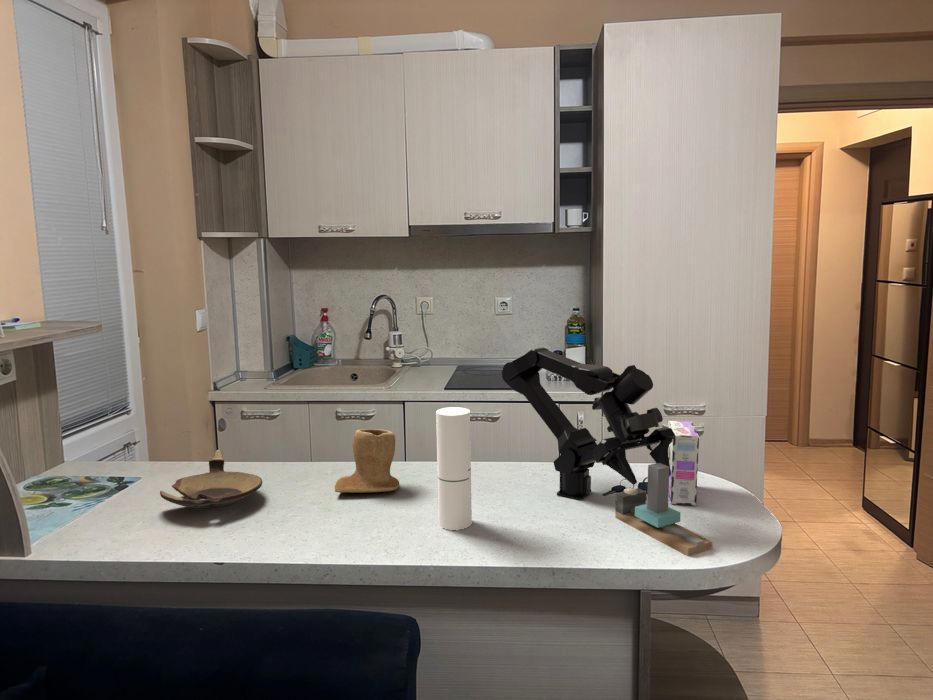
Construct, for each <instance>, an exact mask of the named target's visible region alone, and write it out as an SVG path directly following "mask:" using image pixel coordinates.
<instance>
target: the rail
mask: <svg viewBox="0 0 933 700" xmlns="http://www.w3.org/2000/svg"><path fill="white" fill-rule="evenodd" d="M645 504H647V491H645V490H643V489H641V488H639V487H637V488H632V487H631V488H630V487H627V488H625V489H623V491H620V492H616V493H615V505H614V507H615V512H614V513H615V516H614V517H615V518H616V519H618V520H619V521H621V522H623V523H625V524H627V525H629V526H631V527H632V528H634V529H636V530H638V531H640V532H642V533H644V534H645V535H647V536H650V537H652V538H654V539H655V540H657V541H659V542H661V543H662V544H664V545H666V546H668V547H670V548H672V549H673V550H675V551H677V552H678V553H679V552H680V553H682V554H683V555H686V556H687V557H689V556H693V555H696V554H699V553H703V552H705V550H706V551H710V550H712V549H713V541H712V540H710V539H708V538H706V537H704V536H702V535H700V534H698V533H695V532H694V531H691V530H689V529H687V528H685V527H684V526H681V525H680V524H677V523H674V524H670V525H666V526H663V527H659V528H657V527H656V526H654V525H652V524H650V523H648V522H646V521H644V520H642V519H640V518H638V517H636V516H635V507H636V506H640V505H645ZM702 551H703V552H702ZM698 552H699V553H698ZM695 553H696V554H695ZM692 554H693V555H692Z"/></svg>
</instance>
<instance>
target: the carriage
mask: <svg viewBox="0 0 933 700" xmlns="http://www.w3.org/2000/svg"><path fill="white" fill-rule="evenodd" d="M669 498H670V496H669V466H666V465H664V464H661V463H656V462H655V463H652V464H648V465H647V491H646V504H645V505H640V506H636V507H635V516H636V517H638V518H640V519H642V520H644V521H646V522H648V523H650V524H652V525H654V526H656V527H657V528H659V527H663V526H666V525H670V524H674V523H675V524H677V523H680V522H681V512H680V511H678V510H676V509H674V508H671V507H669Z"/></svg>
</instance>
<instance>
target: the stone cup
mask: <svg viewBox="0 0 933 700" xmlns="http://www.w3.org/2000/svg"><path fill="white" fill-rule="evenodd" d="M351 442H352V444H351V445H352V446H351V447H352V453H353V458H354V462H355V471H354V473H352V474H351V475H345V476H341V477H340V478H338V479H337V480H336V482H335V484H334V492H335V493H343V494H345V493H350V494H351V493H352V494H355V493H360V494H363V493H381V492H383V493H385V492H392V491H395V490H398V488H399V486H400V480H399V479H398V478H396V477H394V476H392V474H391V466H392V462H393V460H394V457H395V453H396V435H395V433H394V432H393V431H391V430H387V429H380V428H363V429H357V430H355V431H354V433H353V436H352V441H351Z"/></svg>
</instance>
